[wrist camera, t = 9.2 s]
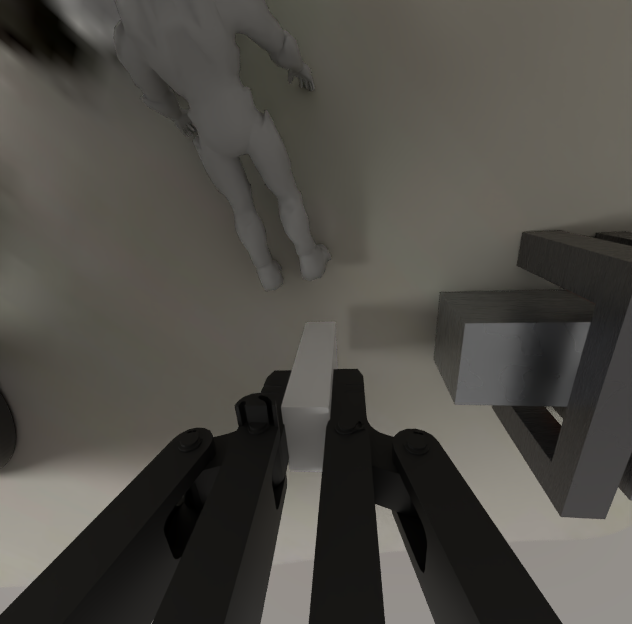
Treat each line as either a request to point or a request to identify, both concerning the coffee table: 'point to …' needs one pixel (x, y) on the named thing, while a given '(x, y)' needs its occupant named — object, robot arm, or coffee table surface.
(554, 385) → the orange-banded grey block
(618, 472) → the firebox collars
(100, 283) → the coffee table surface
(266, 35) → the soldier figurine
